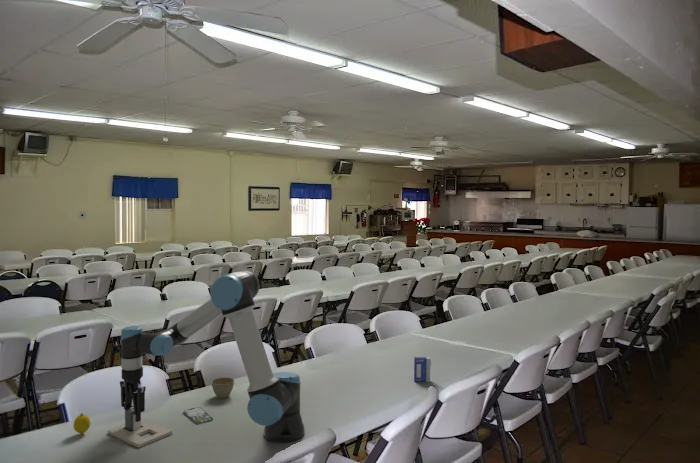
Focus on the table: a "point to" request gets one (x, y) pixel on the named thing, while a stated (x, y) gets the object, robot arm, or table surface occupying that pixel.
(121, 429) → the outlet plate
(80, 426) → the fruit
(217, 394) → the flower pot
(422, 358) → the walkman
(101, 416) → the table surface
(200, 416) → the smartphone
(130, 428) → the dark grey rectangular block
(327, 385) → the table surface
